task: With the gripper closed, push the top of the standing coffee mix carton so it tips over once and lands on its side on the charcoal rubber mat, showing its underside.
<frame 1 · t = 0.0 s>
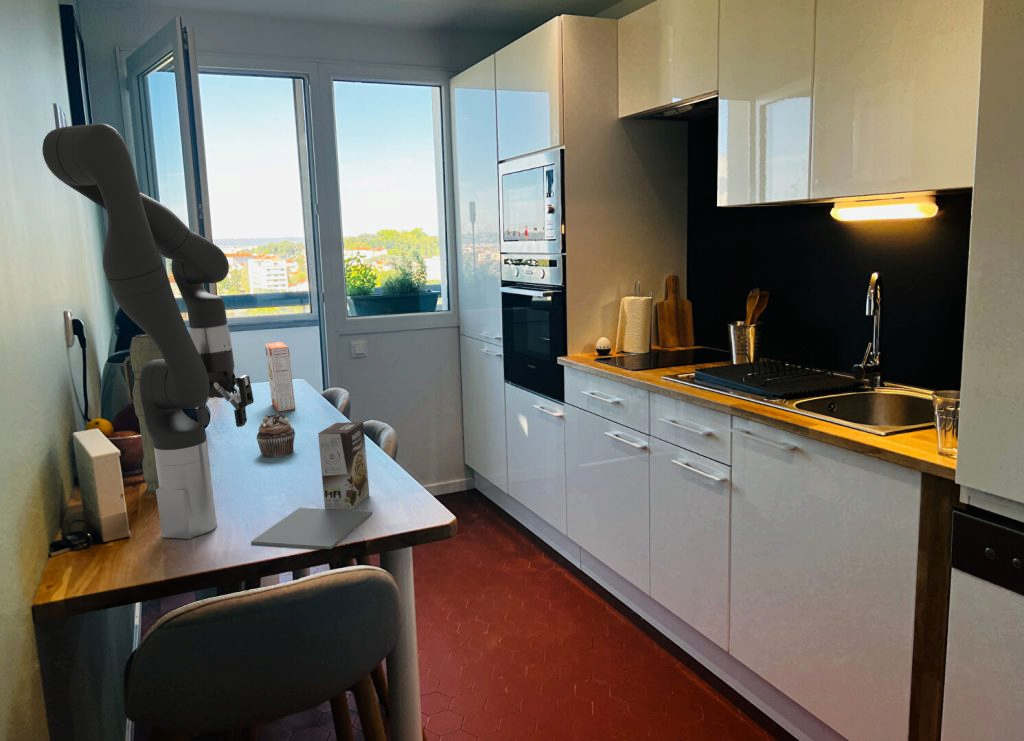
hand: (223, 425, 155), 17 cm above the table, tool pointing down, fingers open, 8 cm apart
cupcake: (277, 453, 197), on the table
coffee box: (348, 503, 157), on the table
mat: (314, 528, 144), on the table
cracker box: (283, 407, 250), on the table
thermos: (168, 487, 173), on the table
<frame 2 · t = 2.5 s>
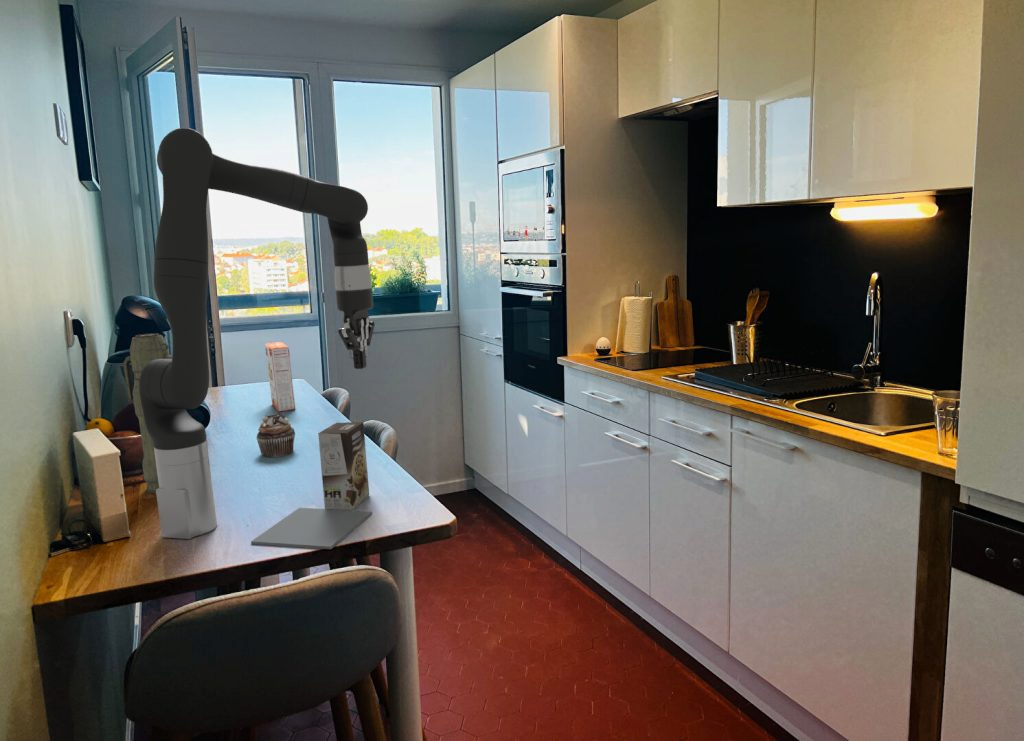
hand: (360, 368, 163), 26 cm above the table, tool pointing down, fingers closed
nothing on the table moved.
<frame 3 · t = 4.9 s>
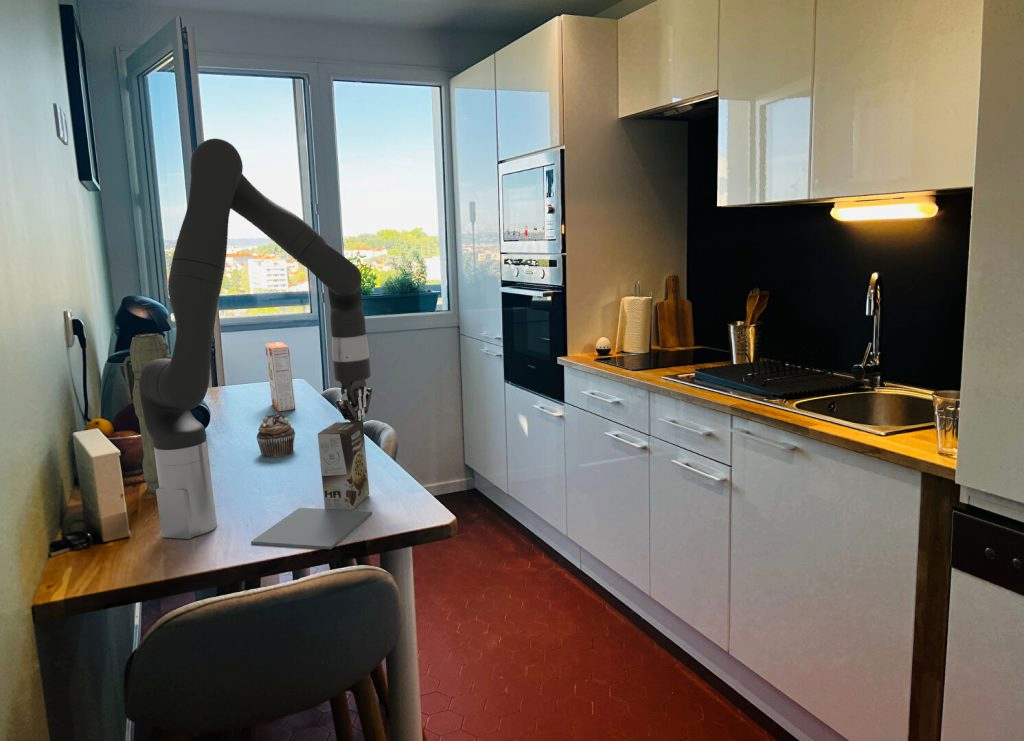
hand: (358, 436, 162), 12 cm above the table, tool pointing down, fingers closed
coffee box: (348, 502, 157), on the table, touching gripper
everything else where it was.
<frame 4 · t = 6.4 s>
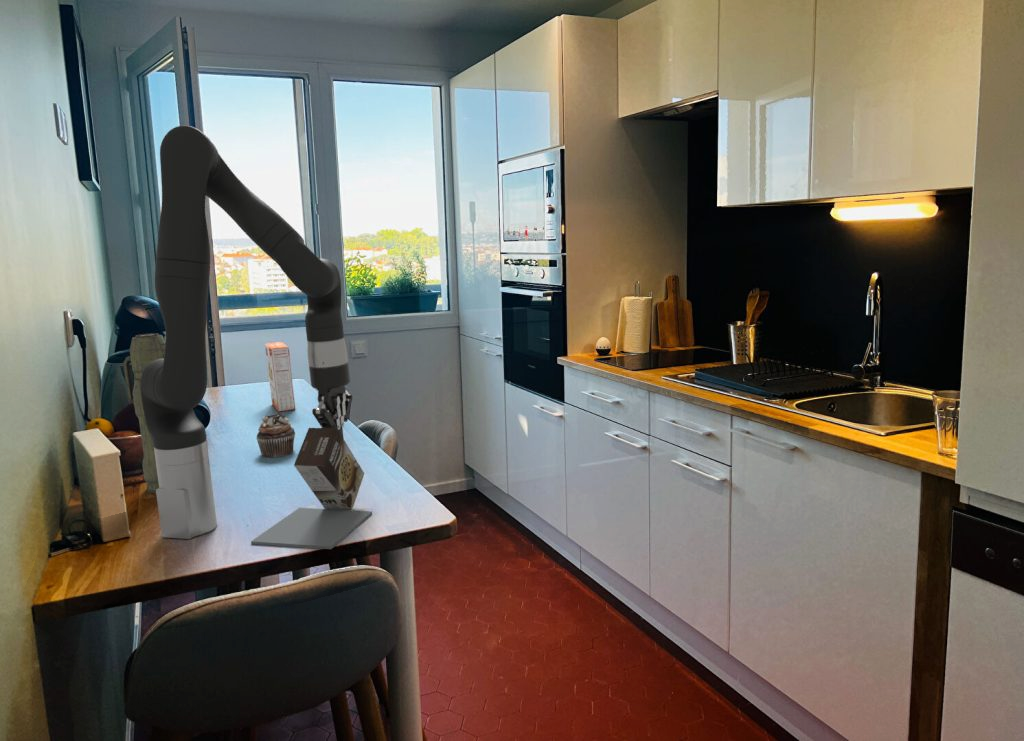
hand: (337, 446, 152), 13 cm above the table, tool pointing down, fingers closed
coffee box: (345, 491, 156), point 3 cm above the table, touching gripper
everything else where it was.
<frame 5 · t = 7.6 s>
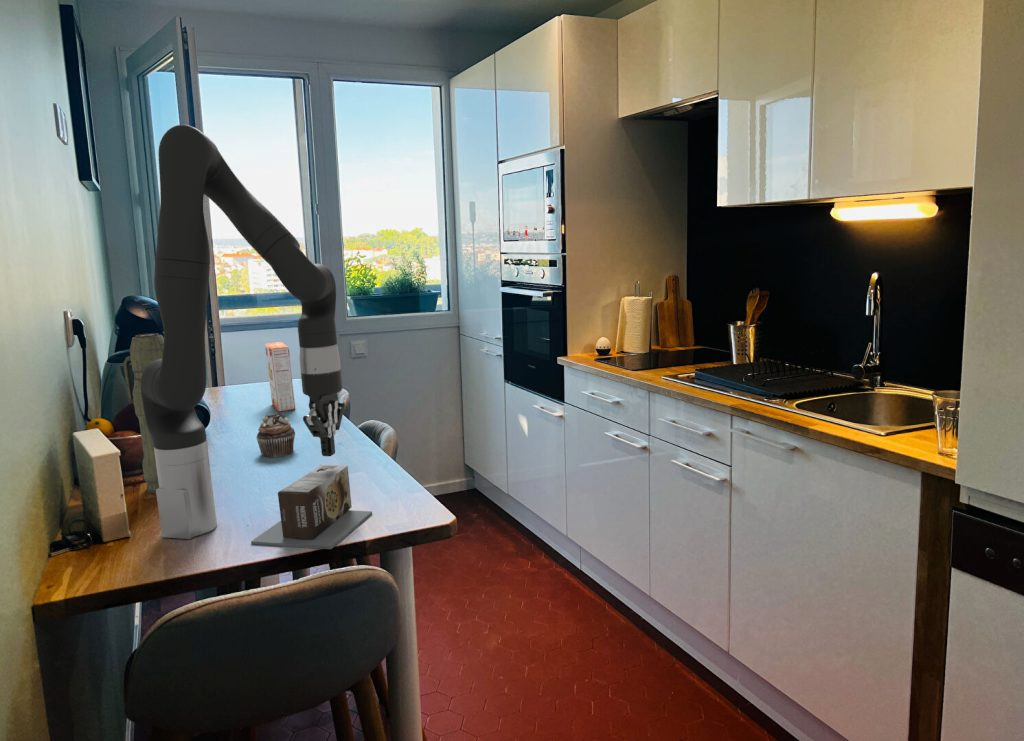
hand: (328, 455, 149), 12 cm above the table, tool pointing down, fingers closed
coffee box: (336, 485, 152), point 5 cm above the table, touching mat
everything else where it was.
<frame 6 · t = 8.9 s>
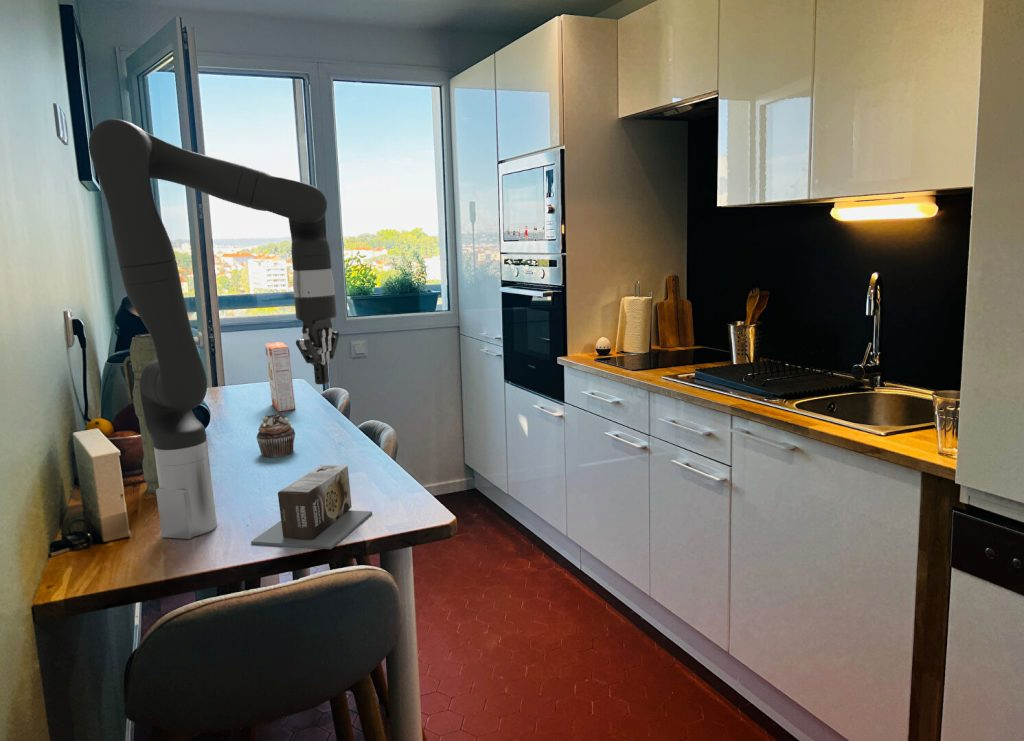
hand: (322, 383, 146), 26 cm above the table, tool pointing down, fingers closed
nothing on the table moved.
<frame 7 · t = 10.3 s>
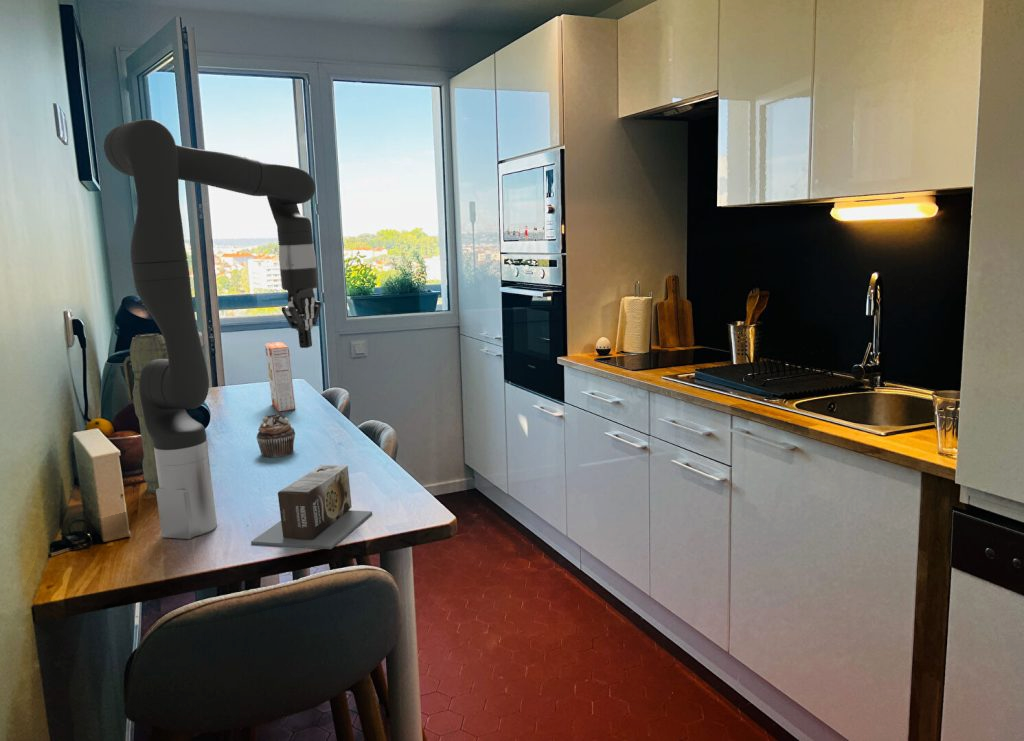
hand: (306, 347, 164), 31 cm above the table, tool pointing down, fingers closed
nothing on the table moved.
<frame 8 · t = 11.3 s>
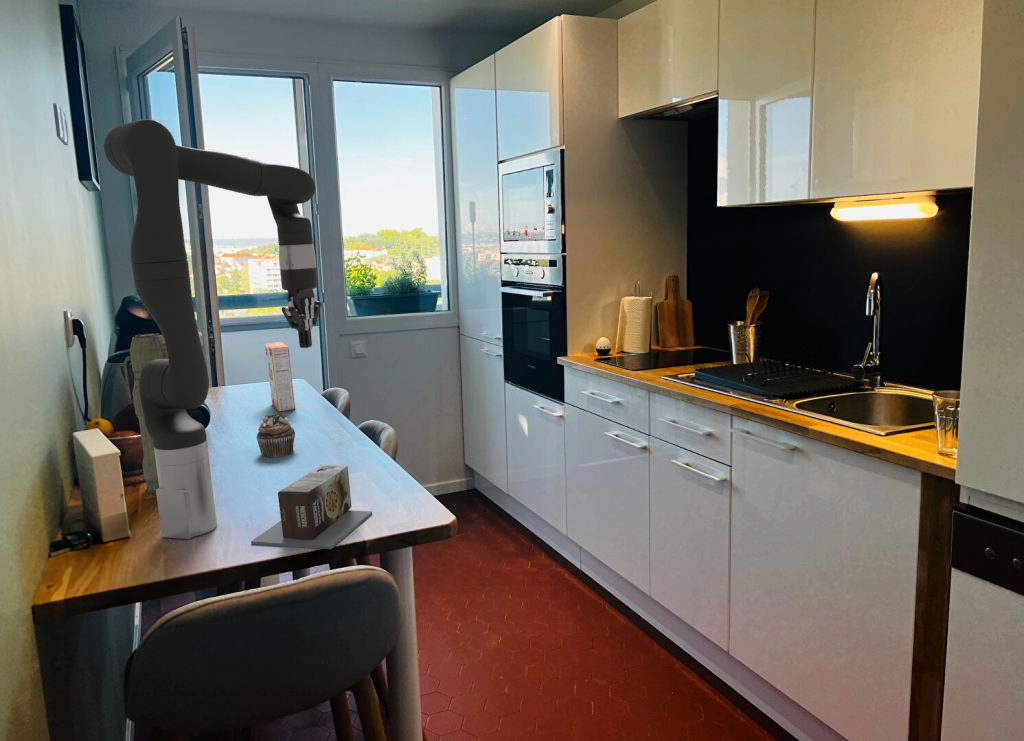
hand: (306, 347, 164), 31 cm above the table, tool pointing down, fingers closed
nothing on the table moved.
at the end: coffee box tilted 91°; coffee box touching mat; coffee box inside the target area (2.7 cm from its centre), point 5.1 cm above the table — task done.
